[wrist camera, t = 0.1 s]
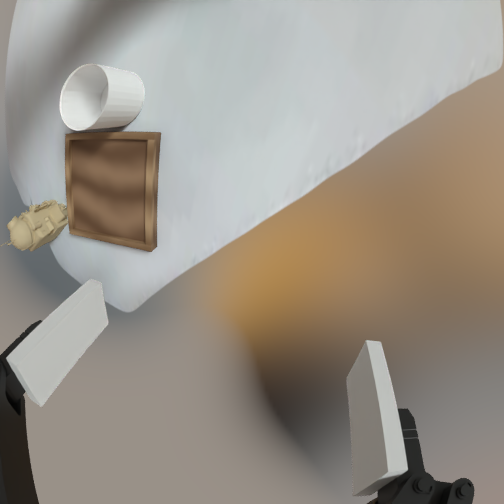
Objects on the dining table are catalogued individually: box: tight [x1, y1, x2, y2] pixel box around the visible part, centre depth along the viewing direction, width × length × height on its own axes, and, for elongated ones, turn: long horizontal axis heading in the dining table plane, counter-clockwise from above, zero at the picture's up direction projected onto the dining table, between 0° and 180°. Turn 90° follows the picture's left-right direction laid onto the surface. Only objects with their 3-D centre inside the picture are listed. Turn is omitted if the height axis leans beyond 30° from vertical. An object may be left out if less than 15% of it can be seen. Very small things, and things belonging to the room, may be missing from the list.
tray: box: [65, 132, 161, 252], centre depth 40 cm, size 18×18×2 cm
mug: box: [60, 64, 145, 131], centre depth 30 cm, size 12×9×9 cm
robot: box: [7, 200, 69, 251], centre depth 38 cm, size 10×8×15 cm
